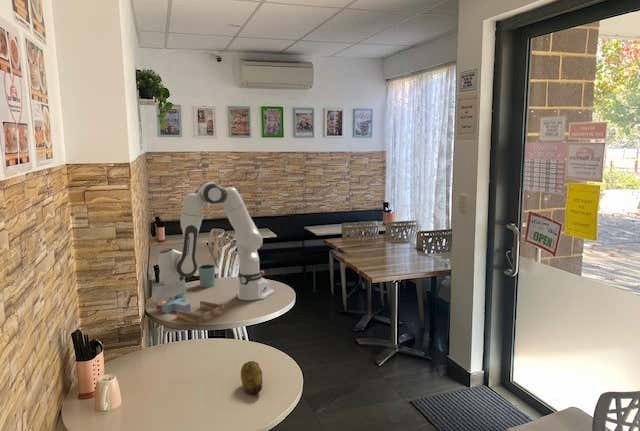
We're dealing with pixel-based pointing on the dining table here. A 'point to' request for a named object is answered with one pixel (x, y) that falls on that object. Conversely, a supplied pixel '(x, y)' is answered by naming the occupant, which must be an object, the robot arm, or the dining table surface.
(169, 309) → the t block
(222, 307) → the corral
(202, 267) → the grey-blue cup
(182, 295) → the cupcake
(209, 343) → the dining table surface
